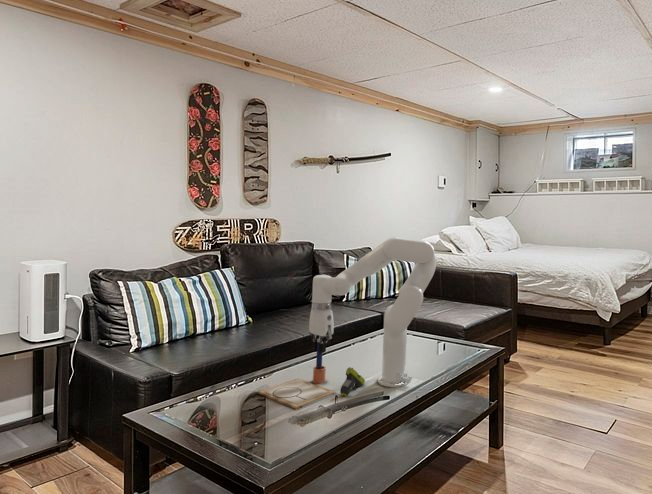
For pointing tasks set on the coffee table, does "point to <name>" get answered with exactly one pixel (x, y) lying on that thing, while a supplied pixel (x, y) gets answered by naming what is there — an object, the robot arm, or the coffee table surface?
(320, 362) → the pen
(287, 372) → the coffee table surface
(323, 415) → the coffee table surface
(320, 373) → the pen pot
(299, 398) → the drawing board
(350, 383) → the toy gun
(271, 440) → the coffee table surface
